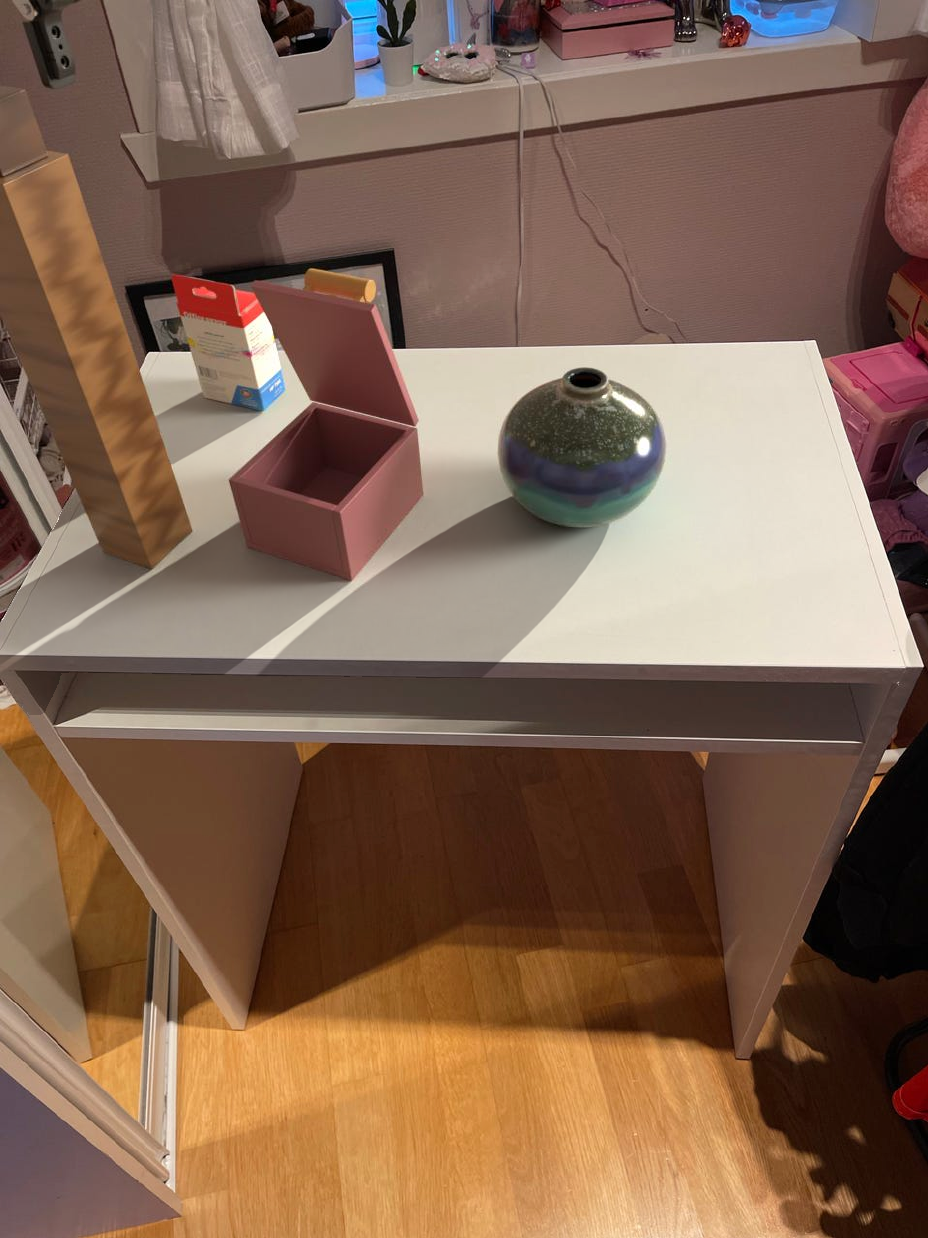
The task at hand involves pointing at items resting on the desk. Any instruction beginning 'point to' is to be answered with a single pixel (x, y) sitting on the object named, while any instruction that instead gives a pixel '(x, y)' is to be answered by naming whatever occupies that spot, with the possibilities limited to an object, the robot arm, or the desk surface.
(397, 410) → the lid
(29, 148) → the block
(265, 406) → the ink box
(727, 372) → the desk surface
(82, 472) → the pedestal
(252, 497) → the chest
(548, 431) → the vase
